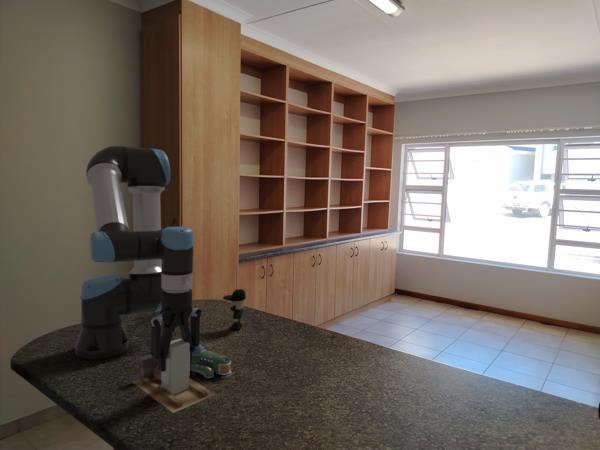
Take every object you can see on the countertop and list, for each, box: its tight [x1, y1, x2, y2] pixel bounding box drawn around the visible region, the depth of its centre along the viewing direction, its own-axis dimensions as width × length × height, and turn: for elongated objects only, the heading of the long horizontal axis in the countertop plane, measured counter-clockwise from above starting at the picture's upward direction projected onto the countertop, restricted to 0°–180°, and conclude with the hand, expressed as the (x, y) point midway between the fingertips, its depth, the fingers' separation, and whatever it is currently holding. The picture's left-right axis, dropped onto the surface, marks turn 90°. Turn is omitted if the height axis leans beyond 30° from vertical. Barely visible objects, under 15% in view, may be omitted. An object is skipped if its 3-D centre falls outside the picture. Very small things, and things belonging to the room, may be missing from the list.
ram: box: [161, 338, 190, 395], centre depth 103 cm, size 5×5×12 cm
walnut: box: [153, 366, 161, 381], centre depth 108 cm, size 4×4×4 cm
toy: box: [222, 288, 247, 331], centre depth 151 cm, size 8×8×15 cm
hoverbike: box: [190, 343, 234, 380], centre depth 117 cm, size 10×25×8 cm, turn 65°
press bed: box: [132, 354, 217, 414], centre depth 104 cm, size 20×12×7 cm, turn 48°
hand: (175, 378), depth 104 cm, fingers closed on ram, 5 cm apart
